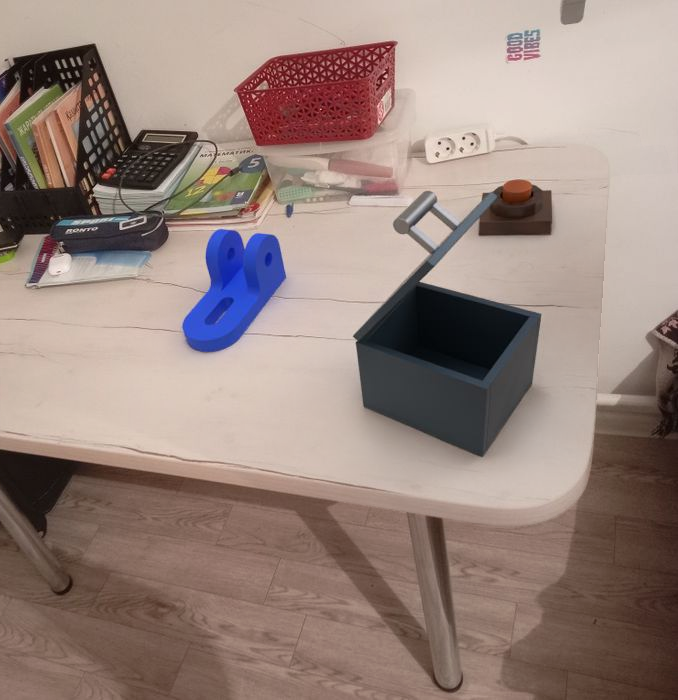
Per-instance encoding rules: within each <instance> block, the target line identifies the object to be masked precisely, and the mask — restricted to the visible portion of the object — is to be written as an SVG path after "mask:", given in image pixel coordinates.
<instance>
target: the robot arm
mask: <svg viewBox="0 0 678 700" xmlns="http://www.w3.org/2000/svg"><path fill="white" fill-rule="evenodd" d="M586 2H587V0H560V5H559V16H560V23H561V24H562V25H564V26H565V25H574V24H579V23H581V22H582V21H583V19H584V14H585V7H586Z"/></svg>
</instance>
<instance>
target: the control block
mask: <svg viewBox="0 0 678 700" xmlns="http://www.w3.org/2000/svg"><path fill="white" fill-rule="evenodd" d="M492 192H493V193H494V194H495V195H496V196H497V199H496V200H495V201H494V202H493V203H492V204H491V205H490V206H489V207H488V209H487V210H486V211H485V212H484V213H483V214H482V215H481V216H480V217H479V219H478V220H479V221H478V236H528V235H529V236H530V235H531V236H533V235H537V236H538V235H541V236H542V235H551V234H552V226H553V197H552V196H553V194H552V190H551V189H550V190H549V189H545V190H543V189H541V187H539V186H538V185H535V184H532V191H531V198H530V199H529V200H527V201H524V202H514V203H512V202H508V201H504V200H503V199H502V193H503V185H500V186H498V187H497V188H495V189H494V190H493V191H492ZM489 193H490V192H482V194H481V201H482V200H483V199H484V198H485V197H486V196H487V195H488V194H489Z"/></svg>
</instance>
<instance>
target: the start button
mask: <svg viewBox="0 0 678 700" xmlns="http://www.w3.org/2000/svg"><path fill="white" fill-rule="evenodd" d="M532 185H533V184H532V182H531V181H529V180H526V179H512V180H509V181H506V182H505V183H504V184H503V185H502V186H503V193H502V199H503V200H504V201H508V202H512V203H514V202H524V201H527V200H529V199H530V198H531V191H532Z"/></svg>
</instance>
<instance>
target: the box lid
mask: <svg viewBox="0 0 678 700" xmlns="http://www.w3.org/2000/svg"><path fill="white" fill-rule="evenodd" d="M488 193H489V194H488V195H487V196H486V197H485V198H484V199H483V200H482V199H481V201H480V202H479V203H478V204H477V205H476V206H475V207H474V208H473V209H472V210H471V211H470V212H468V213H469V214H467V215H466V216H465V218H463V219H462V221H459V219H457V218H456V217H455V216H453V215H452V214H451V213H450V212H449V211H447V209H445V208H444V207H443V206H441V204H439V203H438V197H437V195H436V194H435V193H434V192H433V191H431V190H425V191H423V192H422V193H421V194H419V196H417V197H416V198H415V200H414V201H412V203H410V204H409V205H408V206H407V207H406V208H405V209H404V210H403V211H402V212H400V214H399V215H398V216H397V217H396V218H395V219H394V220H393V222H392V226H393V229H394V231H395V232H396V233H398V234H399V235H408V236H409V237H410V239H412V240H413V241H415V243H417V245H419V246H420V247H422V249H424V250H425V251H426V252H428V253H429V255H427V256H426V257H425V258H424V259H423V261H422V262H421V263H419V264H418V266H416V268H415V269H414V270H413V271H412V272H411V273H410V274H409V275H408V276H407V277H405V279H404V280H403V281H402V282H401V283H400V284H399V285H398V287H397V288H396V289H394V291H393V292H392V293H391V294H390V295H389V296H388V297H387V299H386V300H385V301H384V302H383V303H382V304H381V305H380V306H379V307H378V308H377V309H376V311H374V313H372V314H371V315H370V317H369V318H368V319H367V320H366V321H365V322H364V323H363V324H362V325H361V326H360V327H359V328H358V330H357V331H356V332H355V333H354V334H353V335H352V337H353V338H354V339H355V340H356V342H357V341H359V340H360V339H361V338H362V337H363V336H364V335H365V334H366V333H367V332H368V331H369V330H370V329H372V328H373V327H374V326H375V325H376V324H377V323H378V322H379V321H380V320H381V319H382V318H383V317H384V316H385V315H386V314H387V313H388V312H389V311H390V310H391V309H392V308H393V307H394V306H395V305H396V304H397V303H398V302H399V301H400V300H401V299H402V298H403V297H404V296H405V295H406V294H407V293H408V292H409V291H410V290H411V289H412V288H413V287H414V286H415V285H416V284H417V283H418V282H421V281H422V280H423V279H424V278H425V277H426V276H427V275H428V274H429V273H430V272H431V271H432V270H433V269H434V268H435V267H436V266H437V264H439V262H440V261H441V260H442V259H443V258H445V256H446V255H447V254H448V252H450V251H451V250H452V248H453V247H454V246H455V245H456V244H457V242H459V240H460V239H461V238H462V237H463V236H464V235H465V234H466V233H467V232H468V231H469V230H470V229H471V227H472V226H473V225H474V224H475V223H476V222H477V221H478V220H479V219H480V216H481V215H482V214H483V213H484V212H485V211H486V210H487V209H488V207H489V206H490V205H491V204H492V203H493V202H494V201H495V200H496V199H497V196H496V195H495V194H494V193H493V191H489V192H488ZM429 212H430V213H431V214H433V215H434V216H435V217H436V218H437V219H438V220H439V221H441V223H443V224H444V225H445V226H446V227H447V228H449V229H450V230H451V232H450V233H449V234H448V235H447V236H446V237H445V238H444V239H443V240H442V241H440V243H439V244H437V243H435V242H434V241H433V240H432V239H431V238H430V237H428V236H427V235H426V234H425V233H424V232H423V231H421V230H420V229H419V228H418V227H417V226H416V225H417V224H418V223H419V222H420V221H421V220H422V219H423V218H424V217H425V216H426V215H427V214H428V213H429Z"/></svg>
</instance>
